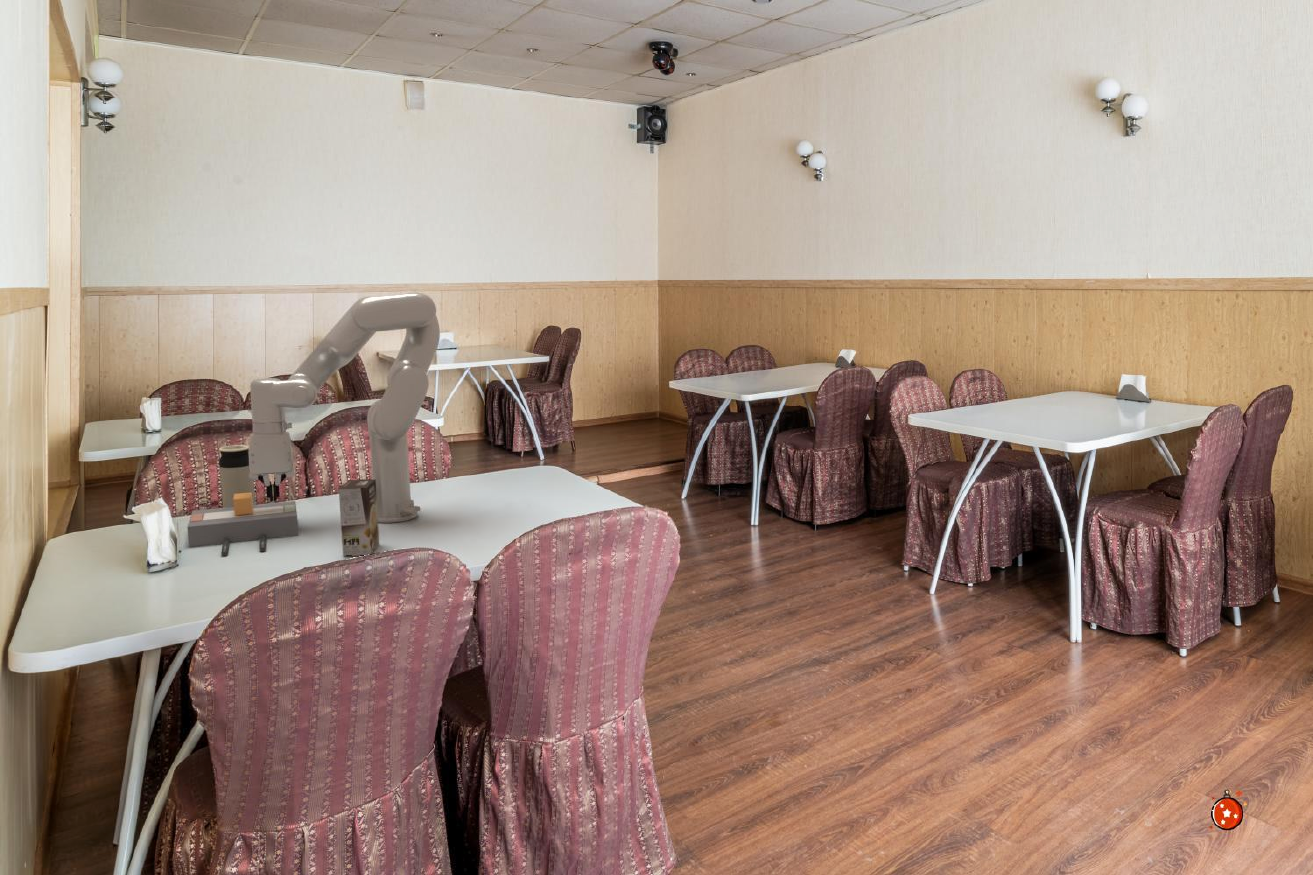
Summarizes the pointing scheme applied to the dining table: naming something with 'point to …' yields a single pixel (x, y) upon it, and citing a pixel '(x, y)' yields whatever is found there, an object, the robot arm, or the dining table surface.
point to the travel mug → (235, 473)
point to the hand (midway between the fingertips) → (273, 500)
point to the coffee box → (359, 517)
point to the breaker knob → (243, 503)
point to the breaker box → (242, 525)
